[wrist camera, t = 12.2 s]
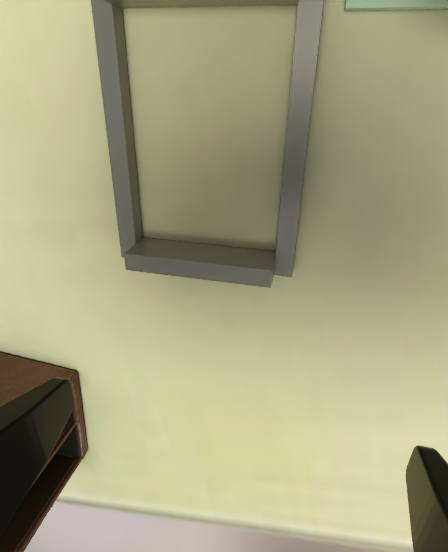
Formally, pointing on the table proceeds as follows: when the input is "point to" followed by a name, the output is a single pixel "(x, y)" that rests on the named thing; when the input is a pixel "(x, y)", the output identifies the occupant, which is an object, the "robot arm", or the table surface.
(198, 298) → the table surface
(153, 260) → the rectangular frame
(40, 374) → the letter holder
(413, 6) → the pad
